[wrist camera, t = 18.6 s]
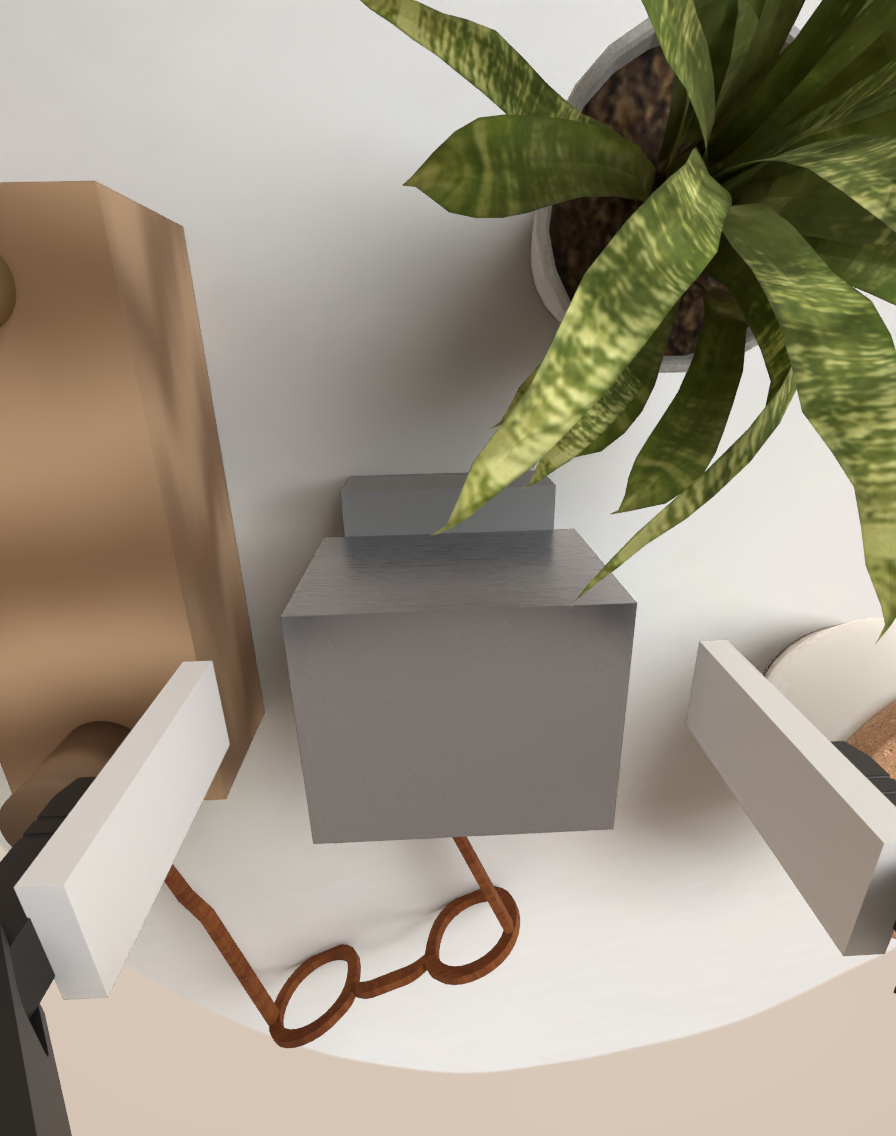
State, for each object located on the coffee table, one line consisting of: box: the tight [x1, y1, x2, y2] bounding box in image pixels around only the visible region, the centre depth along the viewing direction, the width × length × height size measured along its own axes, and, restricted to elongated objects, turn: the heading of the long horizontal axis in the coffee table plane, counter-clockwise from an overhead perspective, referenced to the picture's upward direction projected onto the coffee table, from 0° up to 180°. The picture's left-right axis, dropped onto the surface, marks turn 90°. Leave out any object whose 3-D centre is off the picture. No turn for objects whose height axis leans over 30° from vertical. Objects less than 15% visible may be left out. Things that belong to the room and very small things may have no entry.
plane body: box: [0, 181, 265, 847], centre depth 15 cm, size 18×7×12 cm, turn 1°
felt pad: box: [340, 471, 556, 537], centre depth 21 cm, size 10×7×2 cm
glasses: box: [164, 836, 520, 1048], centre depth 25 cm, size 13×13×5 cm
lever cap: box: [280, 529, 637, 844], centre depth 17 cm, size 7×8×6 cm
